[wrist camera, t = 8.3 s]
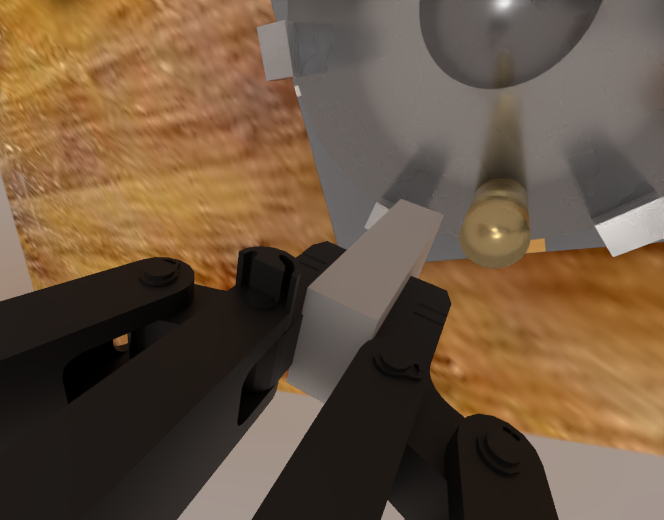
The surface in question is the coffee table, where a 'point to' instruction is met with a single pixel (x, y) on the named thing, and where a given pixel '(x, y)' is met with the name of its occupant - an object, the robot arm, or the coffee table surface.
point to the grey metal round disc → (489, 112)
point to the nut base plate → (356, 206)
